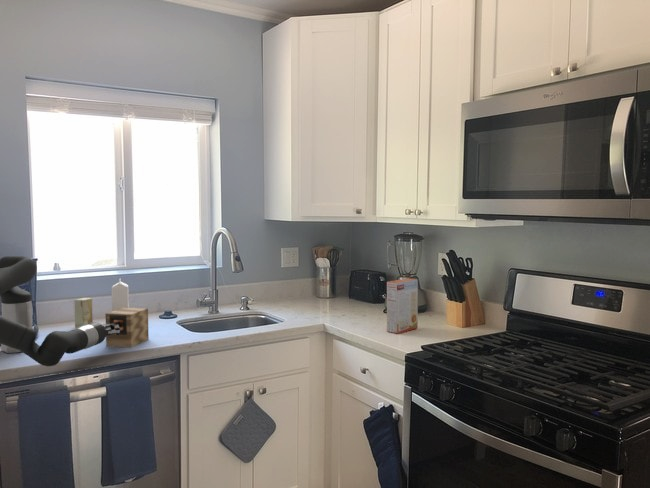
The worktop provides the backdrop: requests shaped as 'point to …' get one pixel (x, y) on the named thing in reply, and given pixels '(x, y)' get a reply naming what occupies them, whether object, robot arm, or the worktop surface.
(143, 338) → the block
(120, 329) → the peg
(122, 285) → the milk
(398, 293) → the cracker box
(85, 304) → the skincare box
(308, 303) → the worktop surface
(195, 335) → the worktop surface
